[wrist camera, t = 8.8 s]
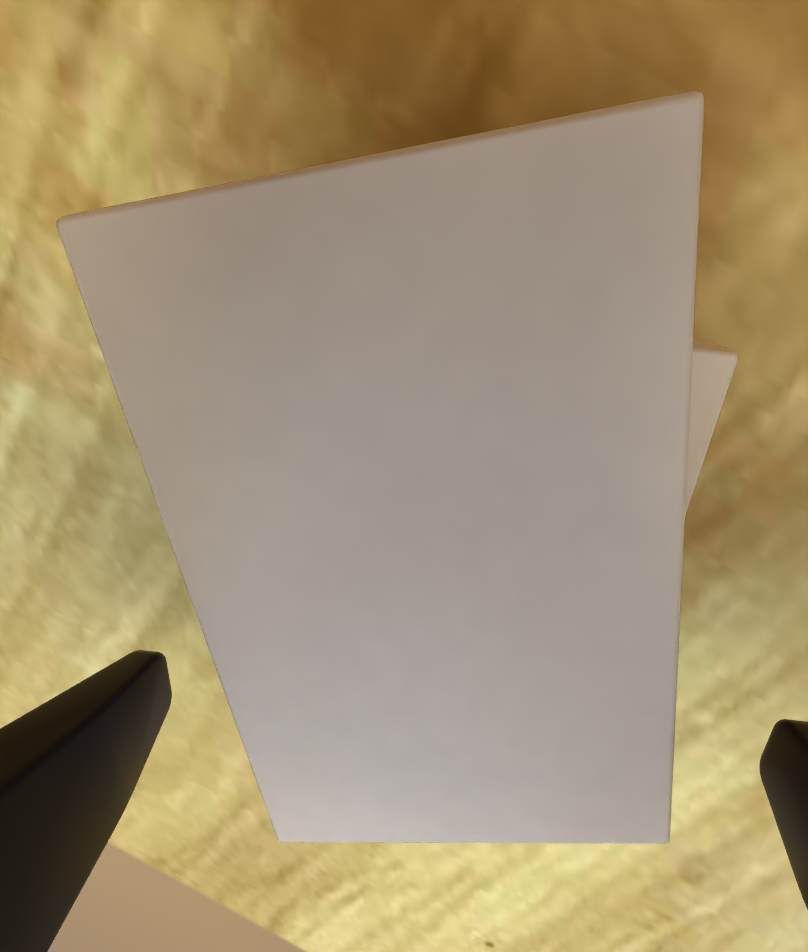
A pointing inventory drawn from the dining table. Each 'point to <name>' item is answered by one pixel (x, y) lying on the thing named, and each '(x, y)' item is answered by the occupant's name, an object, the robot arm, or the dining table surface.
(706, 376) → the beige rectangular slab
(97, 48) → the dining table surface
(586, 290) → the cream block
